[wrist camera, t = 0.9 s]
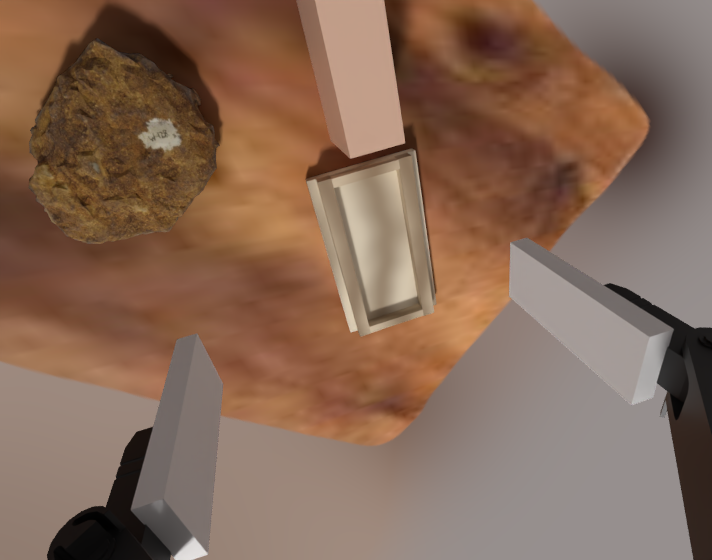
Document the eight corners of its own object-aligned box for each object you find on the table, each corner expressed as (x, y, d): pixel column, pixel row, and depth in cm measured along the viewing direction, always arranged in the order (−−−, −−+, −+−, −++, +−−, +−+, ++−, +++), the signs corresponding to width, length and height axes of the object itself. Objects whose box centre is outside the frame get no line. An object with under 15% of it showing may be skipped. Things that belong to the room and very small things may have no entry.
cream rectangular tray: (348, 327, 43) (353, 339, 41) (305, 178, 34) (308, 185, 32) (432, 299, 44) (440, 310, 42) (411, 148, 35) (420, 152, 33)
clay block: (288, -33, 27) (299, -68, 20) (342, -46, 28) (371, -85, 21) (330, 140, 33) (350, 158, 26) (374, 128, 34) (405, 143, 27)
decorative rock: (156, 263, 35) (241, 120, 32) (149, 284, 32) (243, 126, 28) (5, 196, 30) (89, 14, 26) (-24, 213, 26) (69, 6, 23)
